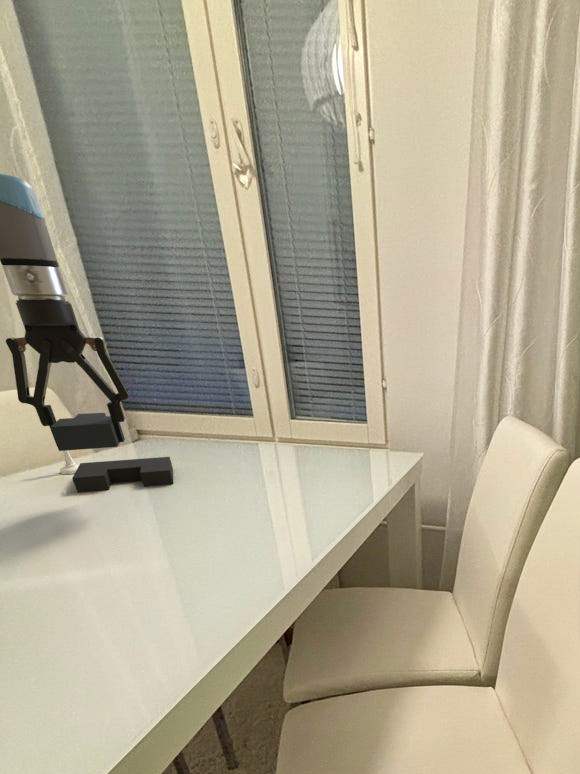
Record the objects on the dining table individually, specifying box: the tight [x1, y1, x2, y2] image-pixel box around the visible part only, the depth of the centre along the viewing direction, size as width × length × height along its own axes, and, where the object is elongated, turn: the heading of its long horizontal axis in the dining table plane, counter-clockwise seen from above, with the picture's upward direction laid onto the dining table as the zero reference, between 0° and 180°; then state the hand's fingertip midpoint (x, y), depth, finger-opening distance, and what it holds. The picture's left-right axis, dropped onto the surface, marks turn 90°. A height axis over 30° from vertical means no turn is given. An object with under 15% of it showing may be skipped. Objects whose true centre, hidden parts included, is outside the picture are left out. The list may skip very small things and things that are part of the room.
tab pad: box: [49, 412, 121, 452], centre depth 102 cm, size 9×14×4 cm, turn 25°
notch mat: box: [71, 456, 174, 493], centre depth 122 cm, size 18×14×3 cm
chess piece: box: [59, 450, 79, 475], centre depth 125 cm, size 5×5×10 cm
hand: (91, 442), depth 101 cm, fingers closed on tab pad, 9 cm apart
